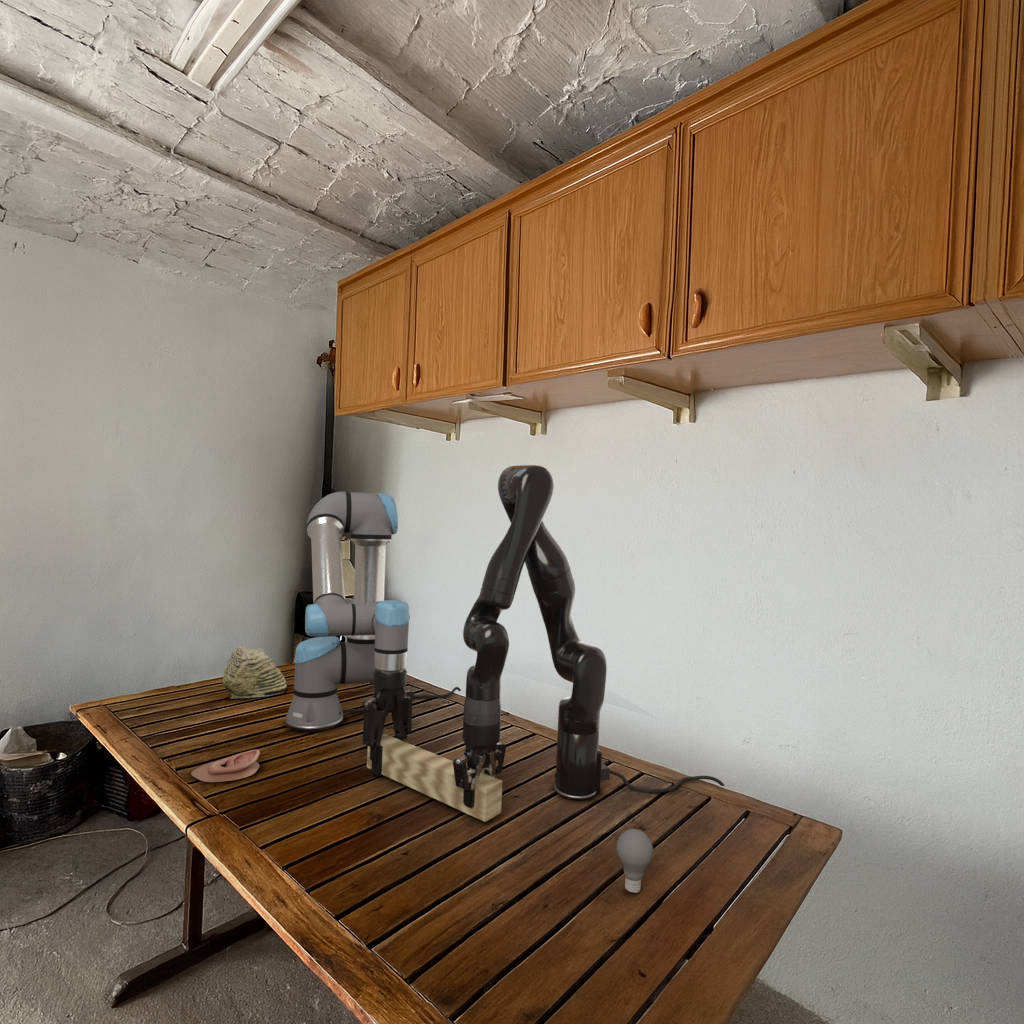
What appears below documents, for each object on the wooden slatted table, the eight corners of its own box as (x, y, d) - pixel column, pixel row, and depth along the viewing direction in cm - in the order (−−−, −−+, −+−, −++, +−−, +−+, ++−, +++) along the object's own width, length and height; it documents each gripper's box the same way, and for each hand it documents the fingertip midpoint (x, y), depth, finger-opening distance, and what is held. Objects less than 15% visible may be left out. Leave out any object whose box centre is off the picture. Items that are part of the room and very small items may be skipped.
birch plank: (366, 767, 146) (367, 739, 146) (383, 761, 150) (384, 733, 149) (484, 822, 123) (486, 788, 123) (501, 812, 127) (502, 780, 127)
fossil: (218, 695, 195) (220, 647, 195) (278, 685, 208) (279, 640, 207) (228, 703, 189) (230, 653, 188) (289, 692, 201) (290, 645, 201)
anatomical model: (182, 760, 139) (216, 741, 150) (181, 778, 139) (216, 758, 150) (236, 768, 136) (267, 748, 147) (235, 786, 136) (266, 765, 147)
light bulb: (610, 879, 108) (613, 822, 108) (644, 879, 109) (647, 822, 109) (619, 902, 102) (622, 840, 102) (655, 901, 103) (658, 840, 103)
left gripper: (408, 659, 154) (405, 754, 155) (347, 673, 140) (343, 777, 140) (430, 665, 150) (426, 763, 150) (369, 680, 135) (364, 788, 136)
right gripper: (491, 705, 135) (487, 784, 136) (443, 721, 124) (439, 807, 124) (518, 714, 131) (515, 795, 131) (471, 731, 119) (468, 821, 120)
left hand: (386, 769), depth 145 cm, fingers closed on birch plank, 5 cm apart
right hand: (478, 801), depth 128 cm, fingers closed on birch plank, 5 cm apart
